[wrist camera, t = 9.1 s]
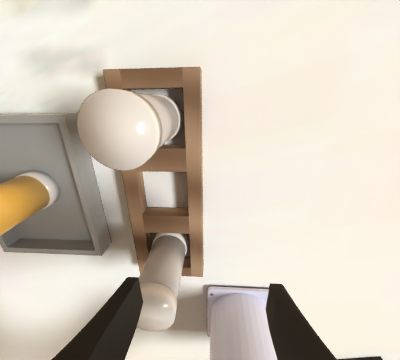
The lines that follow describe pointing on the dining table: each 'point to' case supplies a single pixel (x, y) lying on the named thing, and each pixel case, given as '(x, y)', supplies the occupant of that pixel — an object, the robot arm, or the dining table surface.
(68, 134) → the tray
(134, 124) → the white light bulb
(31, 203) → the amber fuse
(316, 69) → the dining table surface
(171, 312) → the cylinder
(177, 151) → the brown wooden rack
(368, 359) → the remote control
